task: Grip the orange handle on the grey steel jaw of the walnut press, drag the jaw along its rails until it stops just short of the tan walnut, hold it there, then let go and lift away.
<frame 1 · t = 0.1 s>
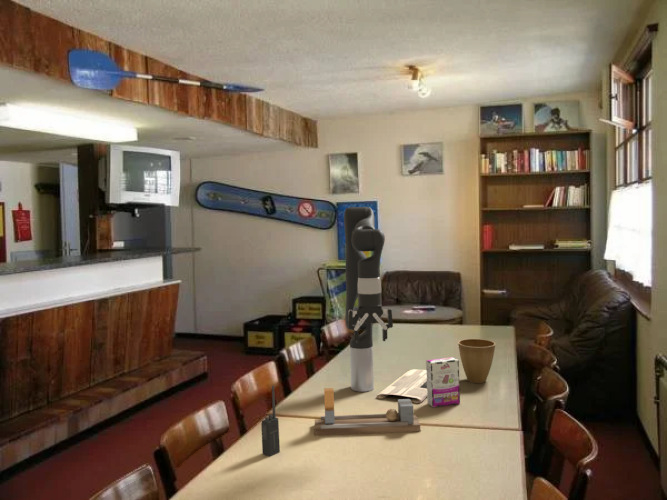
hand: (370, 341, 186), 29 cm above the table, tool pointing down, fingers open, 8 cm apart
newspaper: (412, 388, 233), on the table
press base: (366, 428, 189), on the table
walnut: (392, 415, 189), point 4 cm above the table, touching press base
walkie-talkie: (270, 453, 172), on the table
plant pot: (477, 381, 238), on the table
sliding jaw: (329, 406, 188), point 8 cm above the table, slide at 0.0 cm
candy bar box: (443, 404, 211), on the table
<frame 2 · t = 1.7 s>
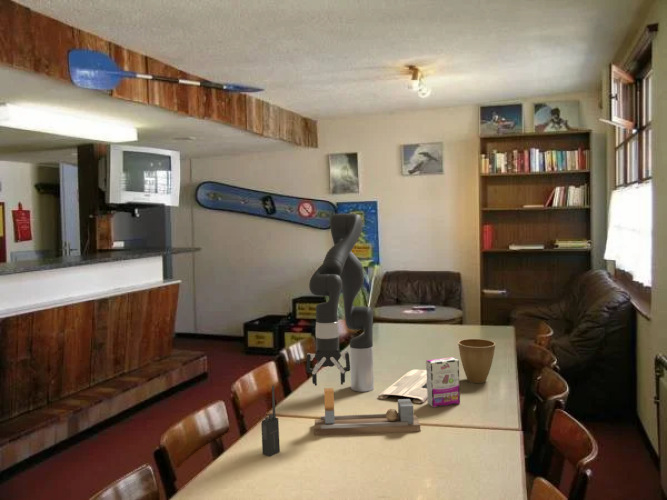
hand: (328, 384, 188), 15 cm above the table, tool pointing down, fingers open, 8 cm apart
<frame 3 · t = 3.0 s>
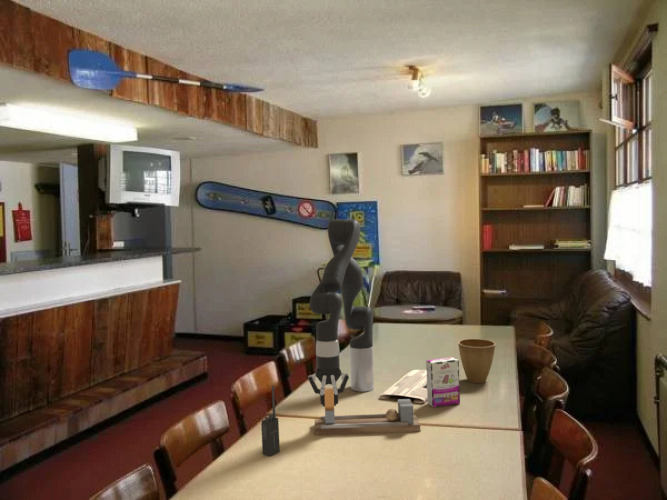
hand: (329, 405, 188), 8 cm above the table, tool pointing down, fingers closed on sliding jaw, 3 cm apart
sliding jaw: (329, 406, 188), point 8 cm above the table, slide at 0.0 cm, touching gripper
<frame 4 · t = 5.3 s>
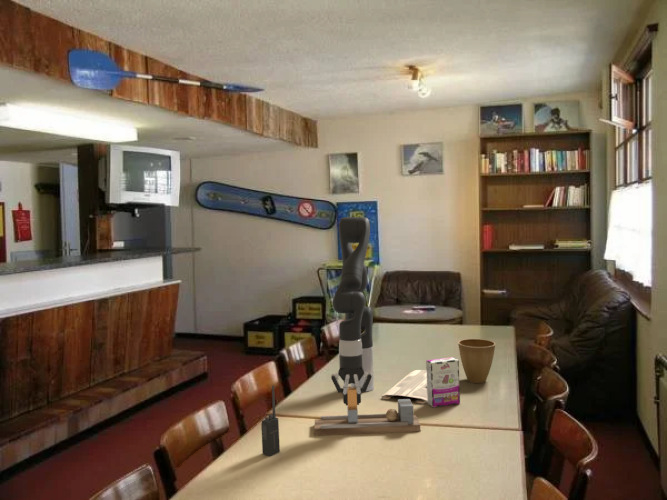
hand: (352, 404, 189), 8 cm above the table, tool pointing down, fingers closed on sliding jaw, 3 cm apart
sliding jaw: (352, 405, 189), point 8 cm above the table, slide at 7.5 cm, touching gripper
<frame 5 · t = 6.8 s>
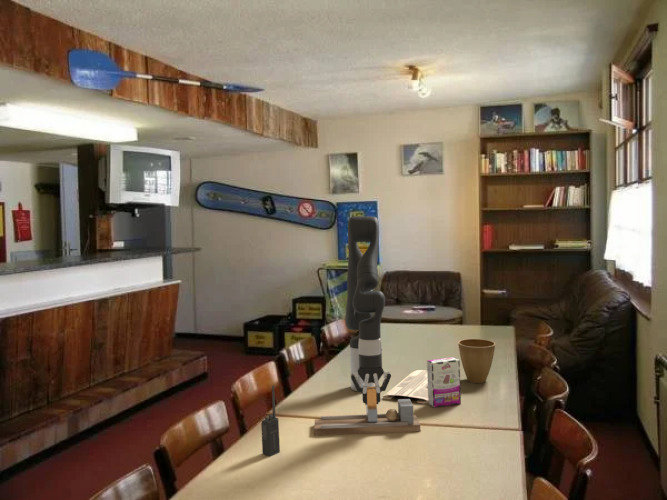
hand: (371, 403, 189), 8 cm above the table, tool pointing down, fingers closed on sliding jaw, 3 cm apart
sliding jaw: (371, 404, 189), point 8 cm above the table, slide at 13.9 cm, touching gripper
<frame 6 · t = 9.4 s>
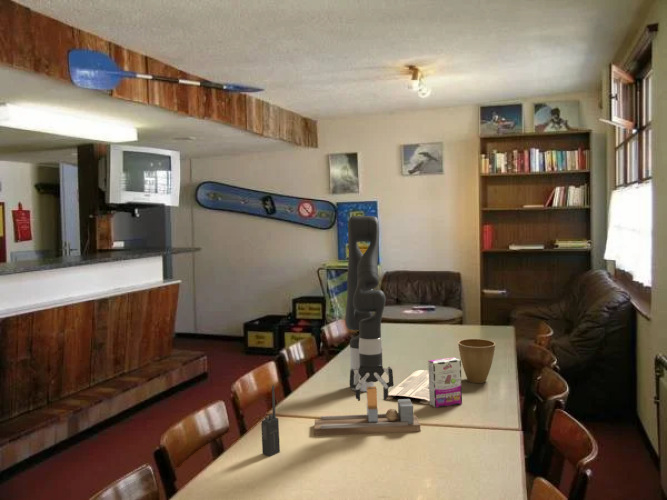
hand: (371, 399, 189), 9 cm above the table, tool pointing down, fingers open, 8 cm apart
sliding jaw: (372, 404, 189), point 8 cm above the table, slide at 14.0 cm
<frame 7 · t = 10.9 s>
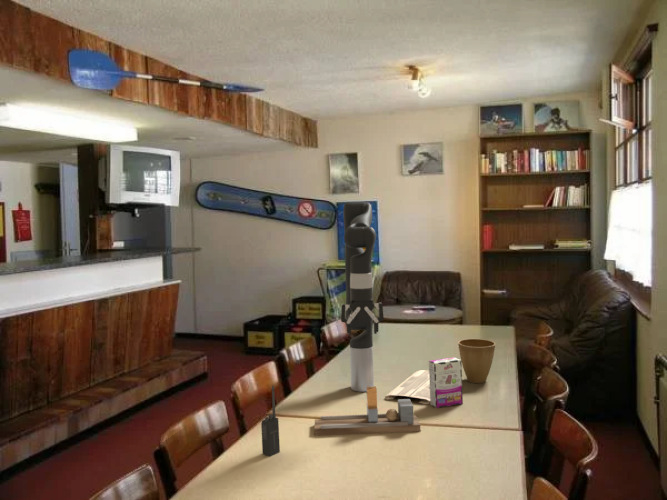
hand: (362, 333, 194), 30 cm above the table, tool pointing down, fingers open, 8 cm apart
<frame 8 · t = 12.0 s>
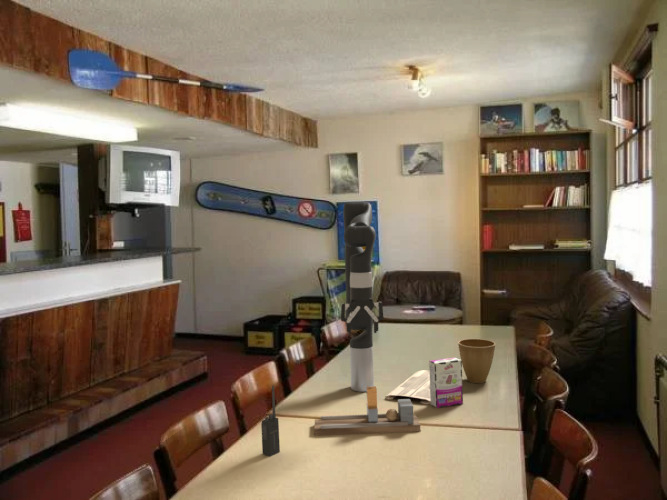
hand: (362, 333, 194), 30 cm above the table, tool pointing down, fingers open, 8 cm apart
at the end: sliding jaw slide at 14.0 cm; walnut moved 0.1 cm from its start; the gripper is holding nothing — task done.
